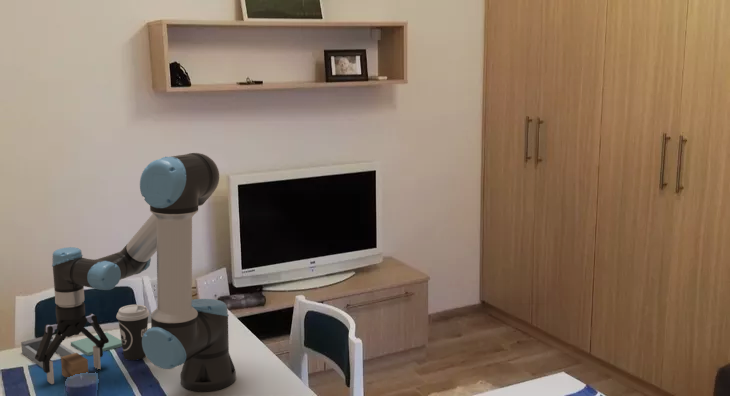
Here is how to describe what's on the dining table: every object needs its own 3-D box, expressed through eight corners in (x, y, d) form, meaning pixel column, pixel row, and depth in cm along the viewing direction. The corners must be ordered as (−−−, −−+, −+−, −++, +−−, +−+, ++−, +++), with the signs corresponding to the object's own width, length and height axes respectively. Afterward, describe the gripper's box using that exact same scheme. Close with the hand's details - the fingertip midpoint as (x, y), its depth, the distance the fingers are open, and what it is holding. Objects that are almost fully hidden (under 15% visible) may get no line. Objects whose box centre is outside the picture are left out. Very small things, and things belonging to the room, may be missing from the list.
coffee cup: (141, 363, 208) (139, 315, 205) (112, 360, 210) (109, 312, 207) (157, 351, 217) (155, 304, 215) (128, 348, 219) (126, 302, 216)
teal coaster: (125, 345, 222) (124, 342, 222) (88, 355, 213) (87, 352, 213) (107, 335, 230) (106, 332, 230) (70, 345, 221) (70, 342, 221)
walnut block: (88, 378, 198) (87, 359, 197) (73, 382, 195) (71, 364, 194) (77, 370, 203) (76, 352, 202) (62, 375, 200) (60, 357, 199)
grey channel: (78, 364, 207) (77, 352, 206) (49, 372, 201) (48, 361, 200) (50, 345, 221) (49, 334, 220) (22, 353, 215) (21, 342, 214)
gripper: (106, 290, 207) (109, 358, 211) (18, 310, 189) (24, 384, 193) (118, 296, 202) (122, 366, 206) (29, 317, 184) (35, 393, 188)
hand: (74, 375), depth 199 cm, fingers open, 13 cm apart
